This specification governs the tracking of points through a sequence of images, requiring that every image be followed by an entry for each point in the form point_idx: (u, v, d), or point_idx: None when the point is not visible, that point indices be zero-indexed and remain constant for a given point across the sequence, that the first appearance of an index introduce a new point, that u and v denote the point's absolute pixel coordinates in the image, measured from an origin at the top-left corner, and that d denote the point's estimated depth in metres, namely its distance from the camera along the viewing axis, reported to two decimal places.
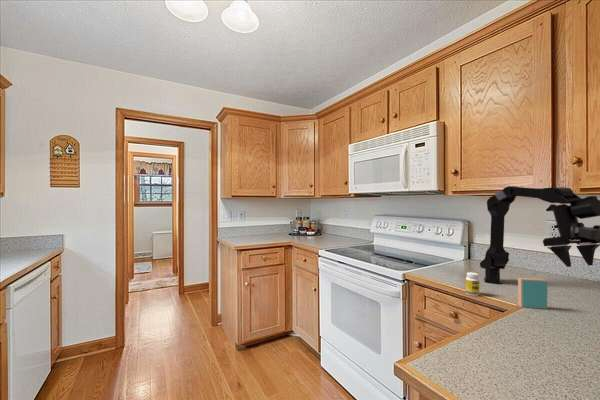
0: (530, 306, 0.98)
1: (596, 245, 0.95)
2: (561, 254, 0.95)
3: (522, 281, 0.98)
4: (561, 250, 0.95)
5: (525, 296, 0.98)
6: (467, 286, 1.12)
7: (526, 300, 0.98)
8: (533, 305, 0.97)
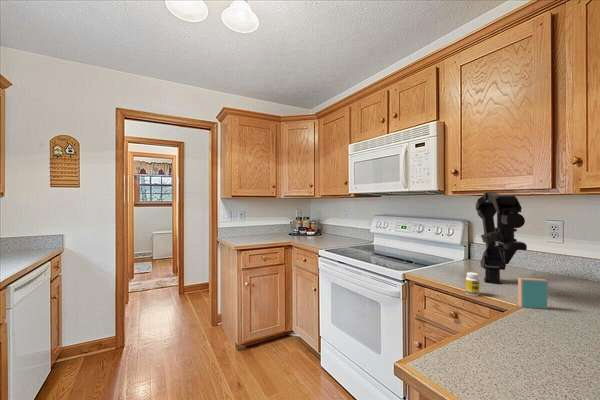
0: (530, 306, 0.98)
1: (500, 248, 1.12)
2: None
3: (522, 281, 0.98)
4: None
5: (525, 296, 0.98)
6: (467, 286, 1.12)
7: (526, 300, 0.98)
8: (533, 305, 0.97)
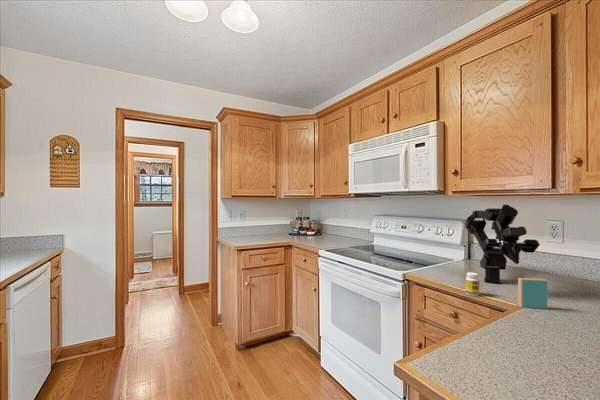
0: (530, 306, 0.98)
1: (517, 245, 1.10)
2: (508, 254, 1.11)
3: (522, 281, 0.98)
4: (508, 251, 1.12)
5: (525, 296, 0.98)
6: (467, 286, 1.12)
7: (526, 300, 0.98)
8: (533, 305, 0.97)
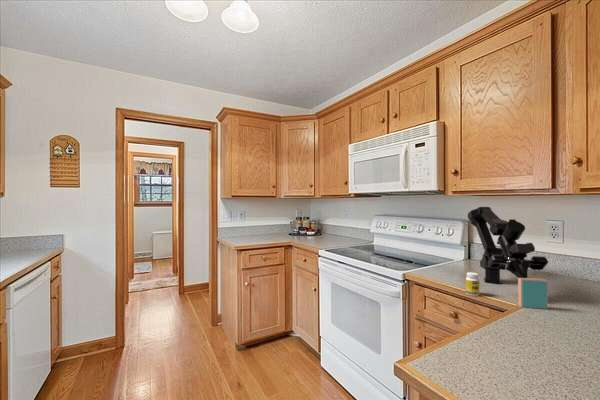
0: (530, 306, 0.98)
1: (525, 262, 1.05)
2: (516, 272, 1.06)
3: (522, 281, 0.98)
4: (515, 268, 1.07)
5: (525, 296, 0.98)
6: (467, 286, 1.12)
7: (526, 300, 0.98)
8: (533, 305, 0.97)
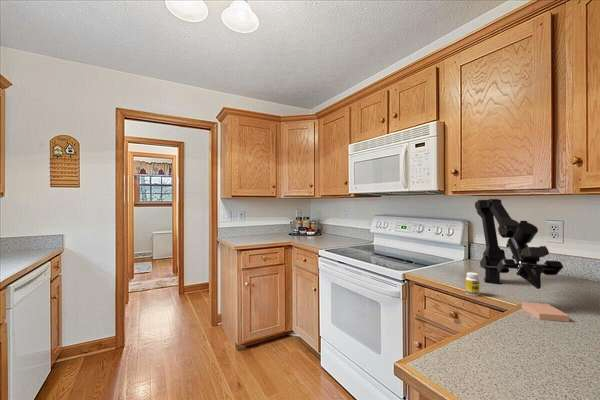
0: None
1: (538, 267, 0.97)
2: (528, 277, 0.98)
3: (539, 319, 0.89)
4: (527, 273, 0.99)
5: None
6: (467, 286, 1.12)
7: None
8: None
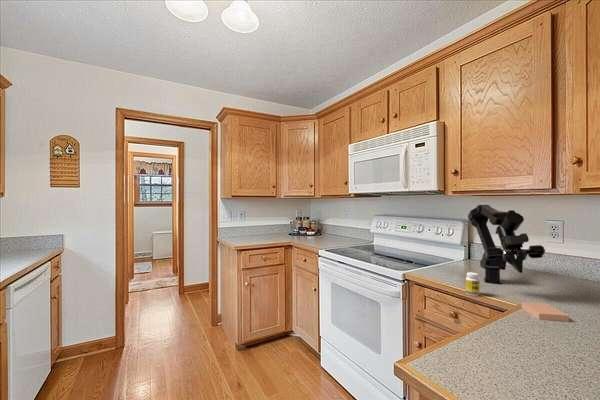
0: None
1: (520, 253, 1.06)
2: (512, 263, 1.08)
3: None
4: None
5: None
6: (467, 286, 1.12)
7: None
8: None
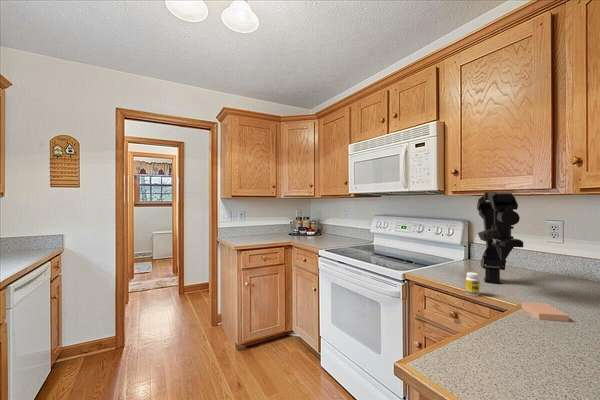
0: None
1: (496, 245, 1.13)
2: None
3: None
4: None
5: None
6: (467, 286, 1.12)
7: None
8: None
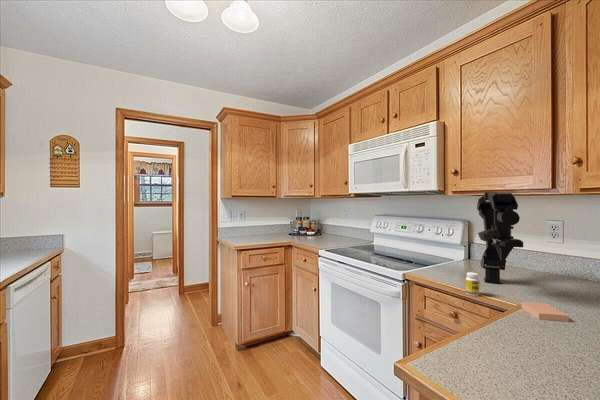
0: None
1: (496, 245, 1.13)
2: None
3: None
4: None
5: None
6: (467, 286, 1.12)
7: None
8: None
